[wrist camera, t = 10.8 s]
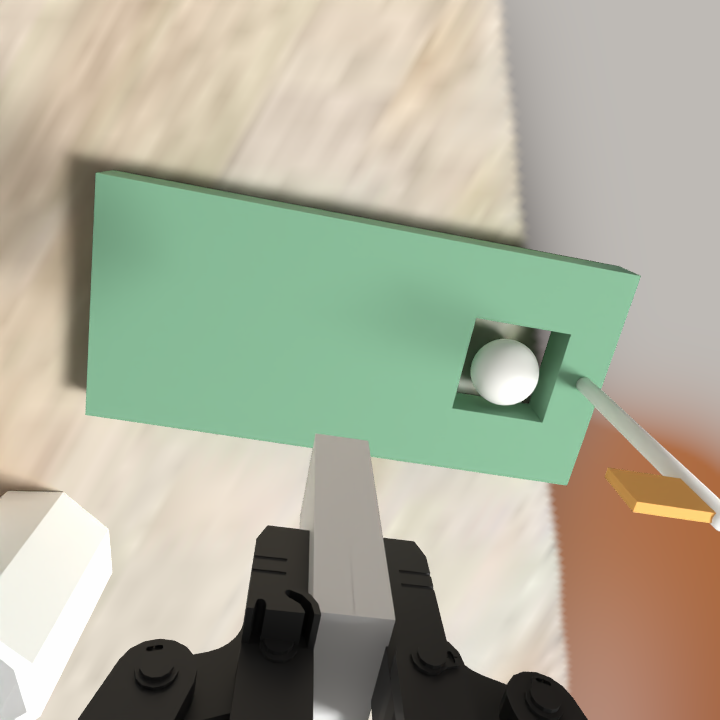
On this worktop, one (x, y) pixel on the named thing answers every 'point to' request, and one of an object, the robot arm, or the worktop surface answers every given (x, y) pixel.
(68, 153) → the worktop surface
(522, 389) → the ball
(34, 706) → the mug
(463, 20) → the worktop surface
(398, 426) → the putting strip
